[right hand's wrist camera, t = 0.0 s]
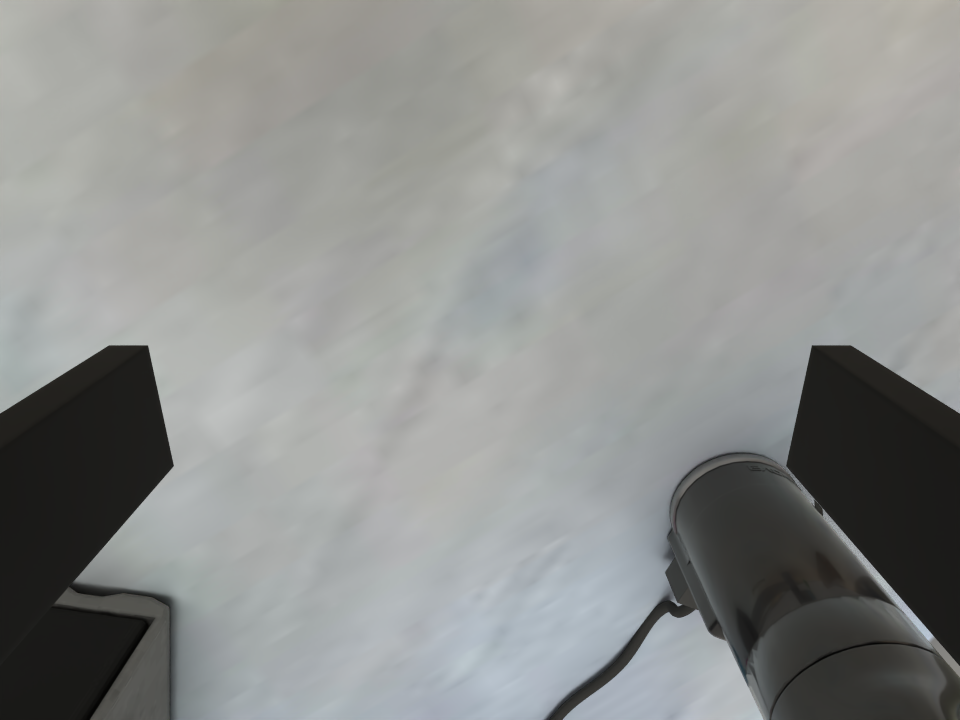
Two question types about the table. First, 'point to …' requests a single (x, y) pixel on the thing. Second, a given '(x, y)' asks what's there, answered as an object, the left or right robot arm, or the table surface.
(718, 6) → the table surface
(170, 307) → the table surface
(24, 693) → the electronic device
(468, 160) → the table surface
